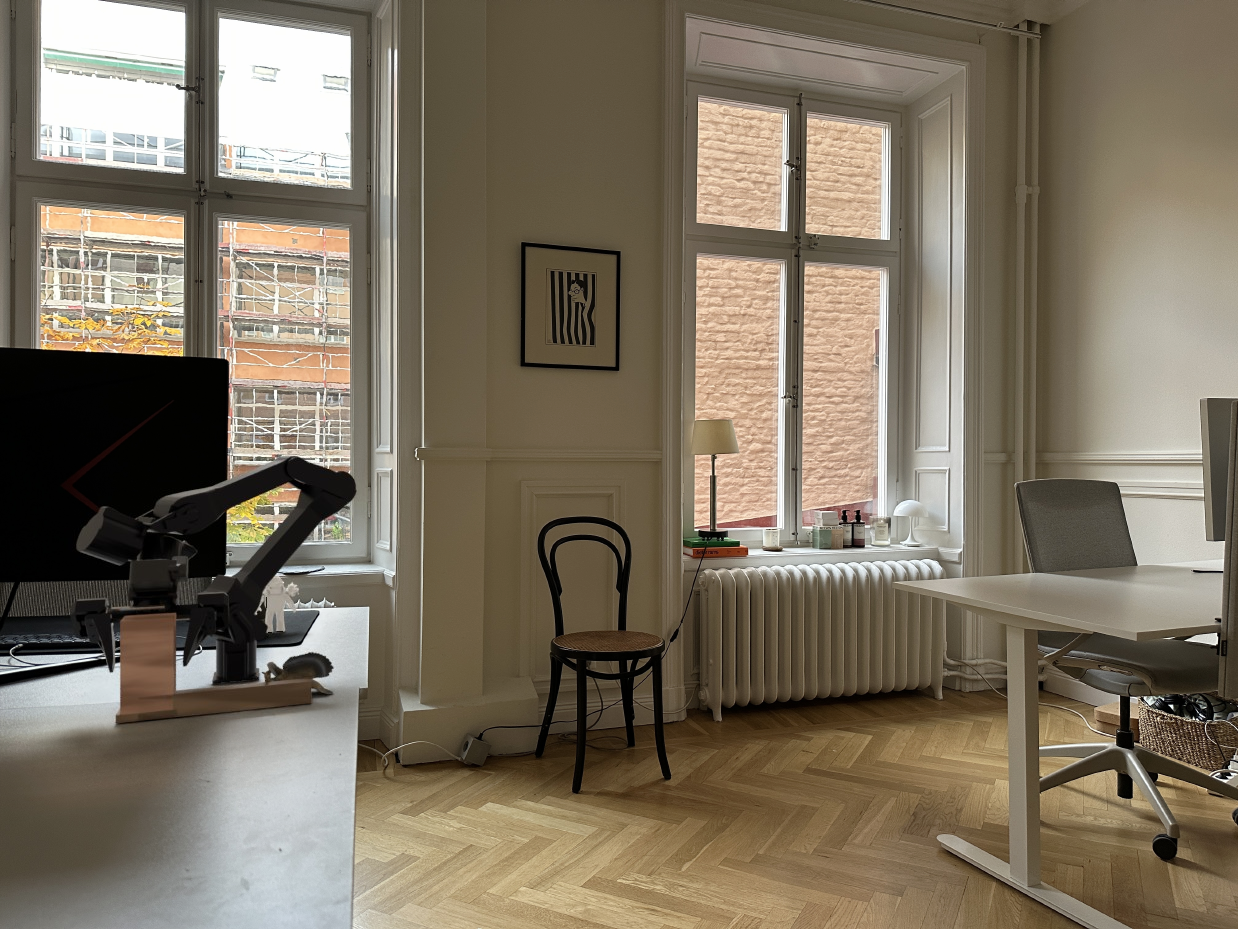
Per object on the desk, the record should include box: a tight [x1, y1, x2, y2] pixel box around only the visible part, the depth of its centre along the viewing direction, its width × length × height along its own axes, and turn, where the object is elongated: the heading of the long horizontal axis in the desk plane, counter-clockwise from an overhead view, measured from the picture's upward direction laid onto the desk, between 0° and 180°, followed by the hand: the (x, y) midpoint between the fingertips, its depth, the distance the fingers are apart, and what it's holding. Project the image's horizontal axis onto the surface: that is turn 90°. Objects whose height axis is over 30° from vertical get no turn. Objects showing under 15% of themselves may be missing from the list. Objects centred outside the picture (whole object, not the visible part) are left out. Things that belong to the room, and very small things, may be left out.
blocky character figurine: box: [255, 575, 300, 634], centre depth 168 cm, size 9×4×12 cm, turn 116°
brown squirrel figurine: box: [261, 651, 334, 695], centre depth 120 cm, size 8×7×9 cm
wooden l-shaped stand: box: [115, 613, 313, 724], centre depth 116 cm, size 10×24×13 cm, turn 113°
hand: (148, 667), depth 110 cm, fingers open, 8 cm apart
